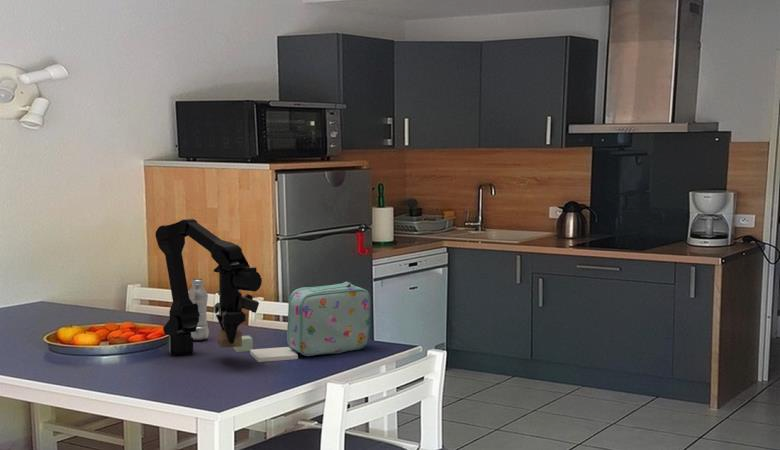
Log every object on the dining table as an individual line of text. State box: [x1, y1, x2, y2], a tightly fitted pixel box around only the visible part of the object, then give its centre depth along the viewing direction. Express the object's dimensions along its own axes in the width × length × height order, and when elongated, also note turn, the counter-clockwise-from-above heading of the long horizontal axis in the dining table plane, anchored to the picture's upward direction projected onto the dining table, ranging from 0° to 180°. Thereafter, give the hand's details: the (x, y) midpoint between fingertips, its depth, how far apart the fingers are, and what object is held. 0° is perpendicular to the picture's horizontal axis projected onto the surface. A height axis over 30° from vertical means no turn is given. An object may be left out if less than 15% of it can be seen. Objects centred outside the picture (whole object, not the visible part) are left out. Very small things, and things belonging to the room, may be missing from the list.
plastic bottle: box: [188, 278, 210, 341], centre depth 300 cm, size 6×7×20 cm
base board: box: [249, 346, 299, 363], centre depth 278 cm, size 12×12×1 cm
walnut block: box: [217, 328, 243, 349], centre depth 269 cm, size 6×6×4 cm
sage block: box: [232, 335, 254, 353], centre depth 287 cm, size 5×5×4 cm
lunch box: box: [286, 281, 372, 357], centre depth 284 cm, size 27×10×21 cm, turn 126°
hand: (229, 341), depth 269 cm, fingers closed on walnut block, 6 cm apart
